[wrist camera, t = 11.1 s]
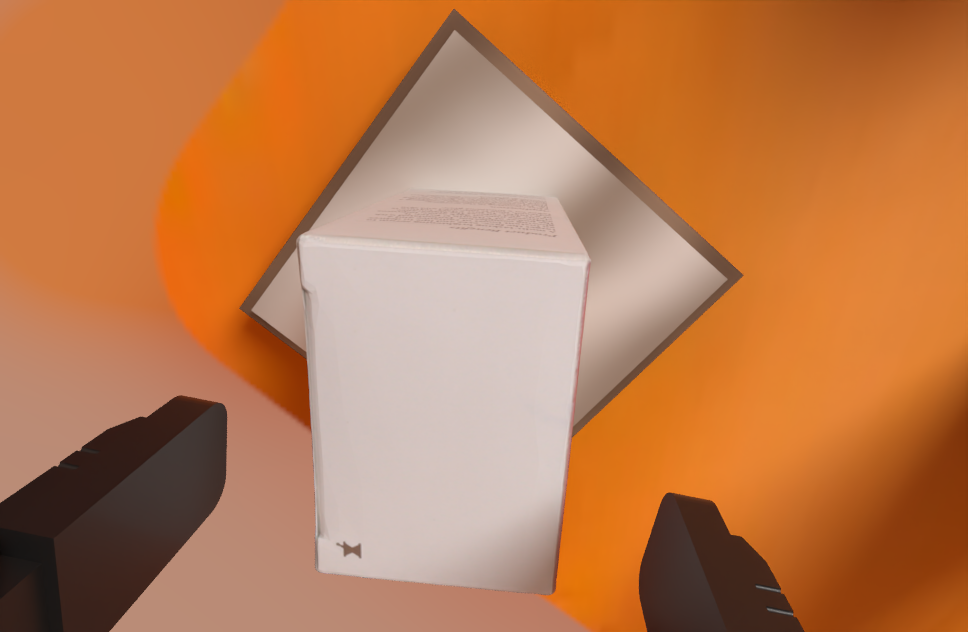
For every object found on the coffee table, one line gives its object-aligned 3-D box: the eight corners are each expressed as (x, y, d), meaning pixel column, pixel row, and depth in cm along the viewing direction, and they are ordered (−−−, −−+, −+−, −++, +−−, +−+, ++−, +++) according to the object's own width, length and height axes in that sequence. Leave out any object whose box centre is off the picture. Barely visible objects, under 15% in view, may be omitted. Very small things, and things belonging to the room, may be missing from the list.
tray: (720, 260, 23) (747, 278, 20) (502, 471, 27) (499, 511, 24) (462, 23, 21) (452, 5, 18) (267, 291, 25) (234, 311, 22)
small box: (542, 394, 22) (557, 608, 12) (405, 383, 22) (310, 584, 12) (562, 192, 20) (601, 254, 10) (407, 183, 20) (289, 233, 10)
